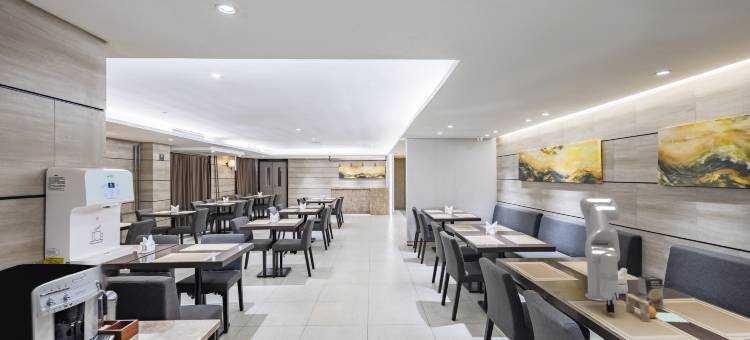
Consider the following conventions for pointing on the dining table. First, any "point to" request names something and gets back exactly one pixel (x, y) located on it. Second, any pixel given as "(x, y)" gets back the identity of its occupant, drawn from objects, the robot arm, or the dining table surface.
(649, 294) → the coffee box
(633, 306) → the bridge
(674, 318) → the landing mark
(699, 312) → the dining table surface
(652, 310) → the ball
